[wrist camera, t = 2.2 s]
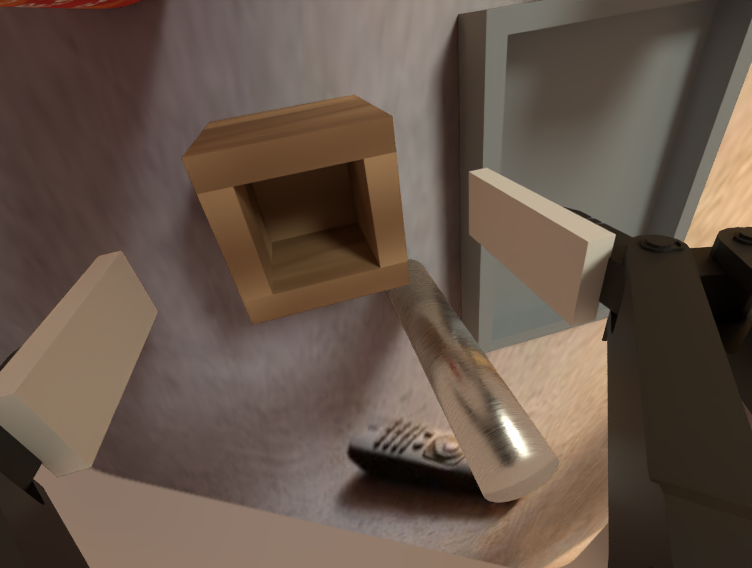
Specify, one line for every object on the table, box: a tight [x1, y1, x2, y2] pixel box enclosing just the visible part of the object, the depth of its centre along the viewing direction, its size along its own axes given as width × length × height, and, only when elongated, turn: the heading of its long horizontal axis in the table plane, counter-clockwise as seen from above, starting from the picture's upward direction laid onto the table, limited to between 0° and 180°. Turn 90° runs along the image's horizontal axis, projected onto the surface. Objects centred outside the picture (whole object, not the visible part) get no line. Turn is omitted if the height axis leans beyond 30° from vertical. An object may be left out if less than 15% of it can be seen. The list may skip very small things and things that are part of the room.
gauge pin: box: [386, 260, 559, 502], centre depth 19 cm, size 3×3×14 cm
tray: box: [458, 0, 752, 353], centre depth 23 cm, size 20×15×3 cm
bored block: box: [181, 95, 410, 324], centre depth 17 cm, size 7×7×7 cm
